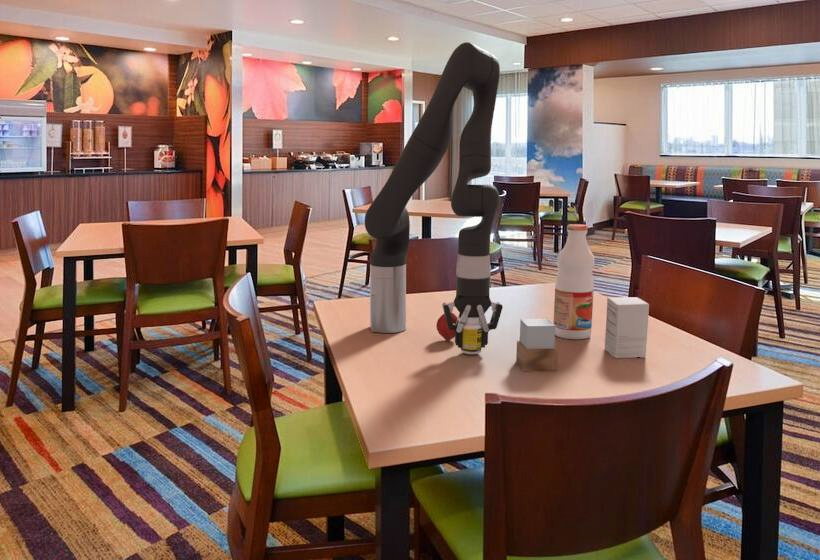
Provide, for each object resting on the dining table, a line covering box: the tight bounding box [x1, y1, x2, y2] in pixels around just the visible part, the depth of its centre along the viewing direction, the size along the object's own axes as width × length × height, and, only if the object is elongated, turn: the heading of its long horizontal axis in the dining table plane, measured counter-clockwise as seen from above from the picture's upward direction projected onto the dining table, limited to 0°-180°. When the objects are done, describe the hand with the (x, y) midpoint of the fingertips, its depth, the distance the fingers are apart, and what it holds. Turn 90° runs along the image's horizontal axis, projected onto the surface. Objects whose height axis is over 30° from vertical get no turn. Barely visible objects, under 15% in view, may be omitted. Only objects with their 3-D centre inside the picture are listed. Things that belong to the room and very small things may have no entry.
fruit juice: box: [553, 223, 596, 340], centre depth 167 cm, size 9×9×28 cm
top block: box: [519, 318, 556, 349], centre depth 144 cm, size 6×6×5 cm
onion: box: [435, 311, 458, 342], centre depth 164 cm, size 6×6×8 cm
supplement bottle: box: [460, 317, 482, 355], centre depth 153 cm, size 5×5×8 cm
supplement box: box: [604, 296, 650, 359], centre depth 153 cm, size 7×7×13 cm
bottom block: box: [515, 340, 559, 373], centre depth 145 cm, size 7×7×5 cm
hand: (471, 346), depth 154 cm, fingers closed on supplement bottle, 4 cm apart
